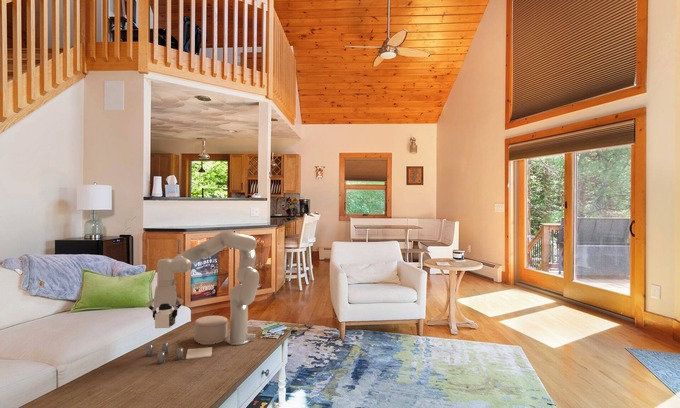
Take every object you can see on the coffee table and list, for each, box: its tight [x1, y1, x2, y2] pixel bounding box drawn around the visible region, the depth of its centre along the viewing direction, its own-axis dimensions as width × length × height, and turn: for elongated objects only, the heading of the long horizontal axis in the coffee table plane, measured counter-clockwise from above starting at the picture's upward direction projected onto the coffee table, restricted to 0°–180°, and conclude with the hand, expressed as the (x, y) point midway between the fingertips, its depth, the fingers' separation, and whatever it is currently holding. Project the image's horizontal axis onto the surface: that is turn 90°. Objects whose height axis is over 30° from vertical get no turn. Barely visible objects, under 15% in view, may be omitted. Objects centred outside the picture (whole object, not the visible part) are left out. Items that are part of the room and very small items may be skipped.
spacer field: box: [145, 341, 184, 365], centre depth 181 cm, size 18×16×5 cm
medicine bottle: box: [154, 304, 176, 329], centre depth 182 cm, size 7×7×12 cm
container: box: [193, 315, 229, 345], centre depth 208 cm, size 18×18×12 cm
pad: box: [185, 346, 213, 360], centre depth 187 cm, size 12×12×1 cm
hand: (165, 318), depth 182 cm, fingers closed on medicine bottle, 8 cm apart
